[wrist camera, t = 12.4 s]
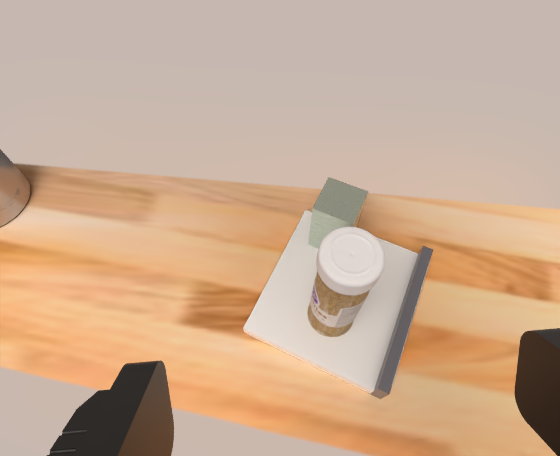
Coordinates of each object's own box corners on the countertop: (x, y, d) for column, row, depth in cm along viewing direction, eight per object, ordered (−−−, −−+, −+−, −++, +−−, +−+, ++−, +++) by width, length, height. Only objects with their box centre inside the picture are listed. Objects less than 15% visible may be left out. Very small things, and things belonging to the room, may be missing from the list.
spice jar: (299, 303, 38) (306, 237, 26) (340, 286, 39) (365, 215, 27) (320, 347, 36) (338, 296, 24) (363, 327, 36) (400, 269, 25)
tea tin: (307, 244, 41) (312, 208, 35) (322, 216, 43) (328, 177, 37) (342, 258, 40) (353, 224, 34) (355, 229, 42) (368, 191, 36)
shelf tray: (244, 332, 38) (241, 323, 35) (304, 216, 45) (306, 201, 42) (382, 399, 35) (390, 395, 32) (424, 263, 41) (434, 250, 39)
